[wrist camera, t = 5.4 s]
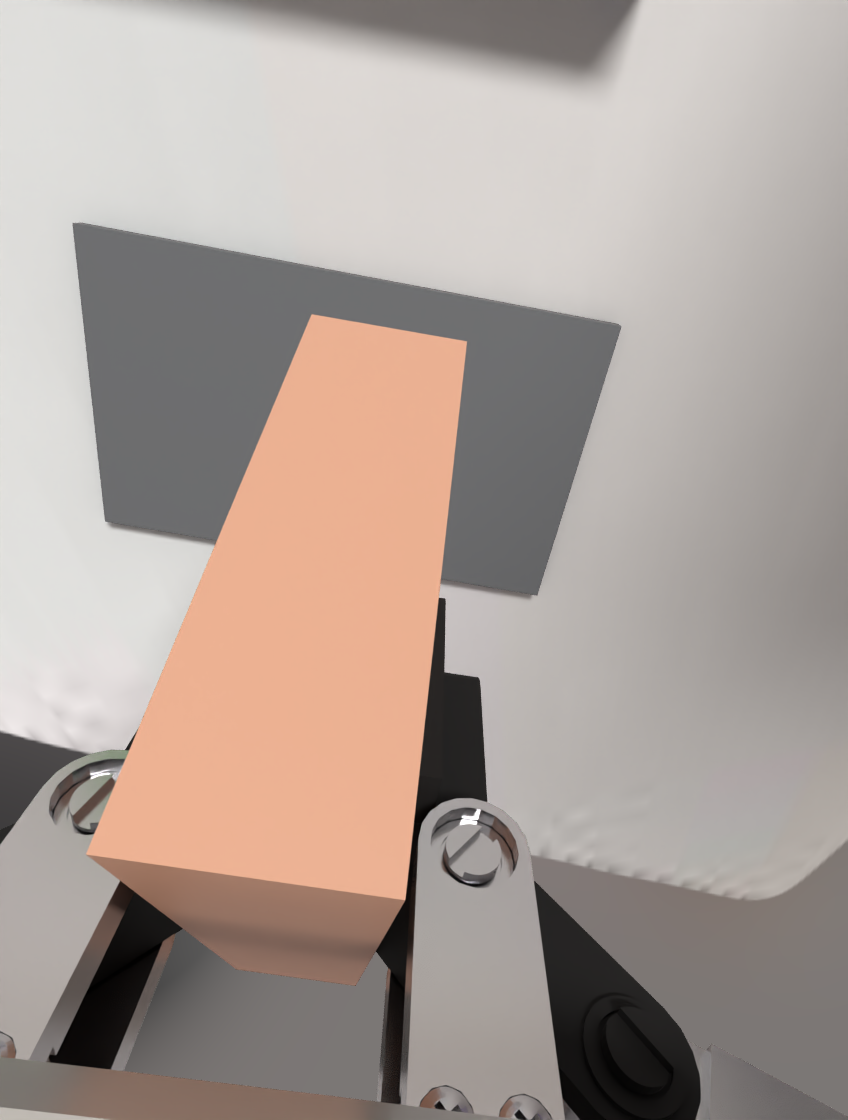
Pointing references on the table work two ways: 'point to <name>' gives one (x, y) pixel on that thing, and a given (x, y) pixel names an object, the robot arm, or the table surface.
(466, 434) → the mat
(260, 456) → the slab
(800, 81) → the table surface
